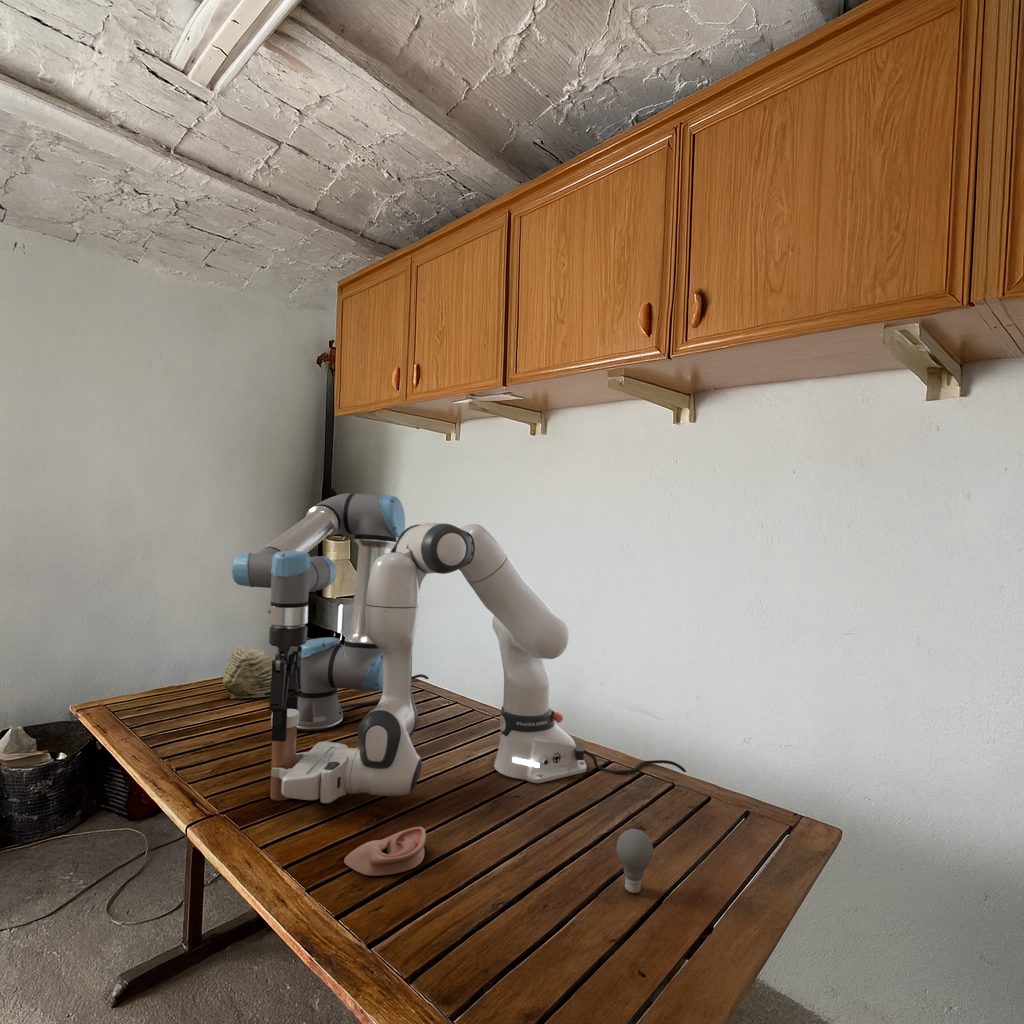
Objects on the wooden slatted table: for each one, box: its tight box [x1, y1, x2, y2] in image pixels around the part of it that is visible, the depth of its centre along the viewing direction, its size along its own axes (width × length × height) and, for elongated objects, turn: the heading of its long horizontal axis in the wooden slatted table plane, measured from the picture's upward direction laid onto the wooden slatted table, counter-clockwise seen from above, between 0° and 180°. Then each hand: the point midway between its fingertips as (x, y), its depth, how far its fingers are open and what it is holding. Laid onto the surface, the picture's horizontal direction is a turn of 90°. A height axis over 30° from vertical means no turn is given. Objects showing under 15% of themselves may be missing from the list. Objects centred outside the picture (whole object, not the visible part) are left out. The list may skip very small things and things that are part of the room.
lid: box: [270, 709, 299, 728], centre depth 133 cm, size 6×6×2 cm
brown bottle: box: [269, 726, 298, 802], centre depth 134 cm, size 5×5×17 cm
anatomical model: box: [343, 826, 427, 877], centre depth 112 cm, size 13×4×12 cm
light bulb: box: [615, 828, 654, 894], centre depth 106 cm, size 6×6×10 cm
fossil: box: [222, 646, 274, 699], centre depth 198 cm, size 9×18×15 cm, turn 132°
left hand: (284, 733), depth 133 cm, fingers open, 7 cm apart
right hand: (279, 764), depth 134 cm, fingers closed on brown bottle, 5 cm apart
